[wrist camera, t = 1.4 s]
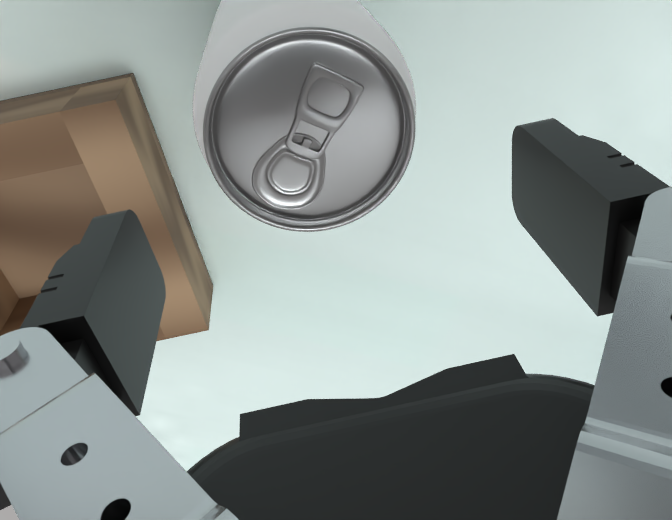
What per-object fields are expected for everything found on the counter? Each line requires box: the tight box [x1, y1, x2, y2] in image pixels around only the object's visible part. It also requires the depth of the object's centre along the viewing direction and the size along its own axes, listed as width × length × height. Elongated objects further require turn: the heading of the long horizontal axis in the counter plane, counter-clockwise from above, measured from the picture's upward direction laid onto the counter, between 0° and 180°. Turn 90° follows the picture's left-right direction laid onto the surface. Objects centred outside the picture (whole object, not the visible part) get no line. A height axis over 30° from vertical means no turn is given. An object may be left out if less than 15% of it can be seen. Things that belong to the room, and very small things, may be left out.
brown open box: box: [0, 73, 213, 341], centre depth 26 cm, size 12×12×4 cm
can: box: [193, 0, 416, 232], centre depth 20 cm, size 6×6×12 cm
